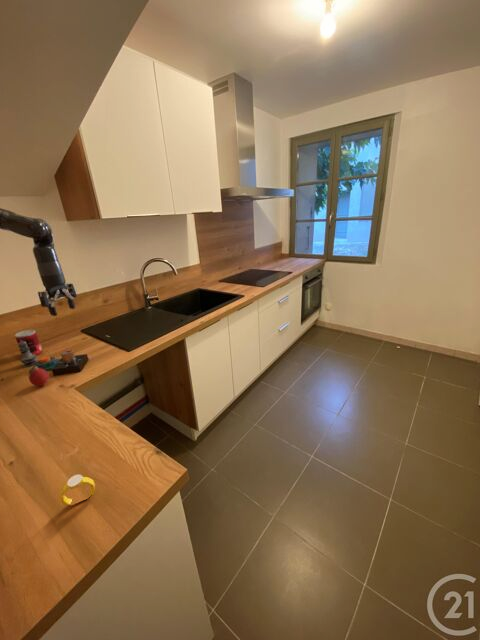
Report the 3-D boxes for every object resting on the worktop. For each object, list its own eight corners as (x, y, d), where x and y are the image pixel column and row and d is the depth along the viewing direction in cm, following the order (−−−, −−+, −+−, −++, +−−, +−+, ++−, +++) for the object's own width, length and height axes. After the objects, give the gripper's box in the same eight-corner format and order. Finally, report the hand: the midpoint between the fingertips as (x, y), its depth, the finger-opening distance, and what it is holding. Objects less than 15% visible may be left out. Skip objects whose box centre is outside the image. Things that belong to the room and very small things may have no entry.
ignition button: (38, 364, 109) (37, 360, 108) (43, 360, 112) (41, 356, 111) (48, 363, 109) (47, 359, 108) (52, 358, 112) (51, 355, 112)
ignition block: (29, 373, 107) (27, 367, 106) (39, 364, 114) (37, 358, 113) (56, 369, 109) (54, 363, 108) (64, 360, 116) (62, 354, 115)
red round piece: (42, 390, 95) (34, 372, 92) (29, 389, 96) (21, 371, 93) (55, 381, 100) (48, 363, 98) (42, 380, 102) (35, 362, 99)
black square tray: (53, 375, 104) (51, 369, 103) (64, 363, 113) (61, 357, 112) (80, 371, 106) (78, 365, 105) (88, 359, 115) (86, 353, 114)
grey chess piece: (23, 369, 111) (12, 344, 106) (20, 365, 114) (10, 340, 110) (40, 363, 115) (30, 338, 110) (36, 359, 118) (27, 335, 114)
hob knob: (62, 364, 106) (58, 354, 104) (66, 359, 110) (62, 349, 108) (73, 363, 107) (70, 352, 105) (77, 357, 111) (74, 347, 109)
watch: (65, 513, 54) (56, 493, 52) (66, 501, 56) (57, 481, 54) (97, 498, 56) (89, 479, 54) (97, 487, 59) (90, 468, 56)
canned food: (37, 349, 129) (29, 328, 125) (46, 351, 125) (38, 330, 121) (19, 356, 122) (10, 335, 118) (29, 359, 119) (20, 337, 115)
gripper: (59, 269, 109) (71, 306, 115) (26, 277, 96) (40, 317, 102) (74, 269, 107) (84, 306, 113) (41, 277, 95) (55, 318, 100)
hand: (63, 311), depth 108 cm, fingers open, 8 cm apart
